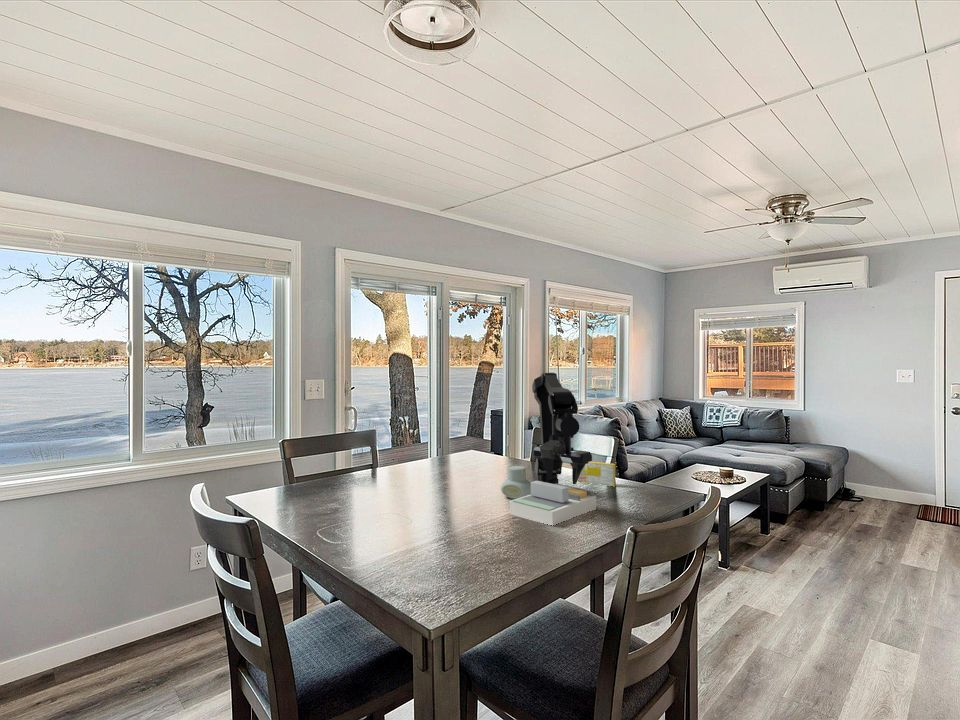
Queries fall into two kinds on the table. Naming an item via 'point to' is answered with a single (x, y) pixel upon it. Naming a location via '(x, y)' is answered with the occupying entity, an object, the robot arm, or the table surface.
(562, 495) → the grey rectangular block
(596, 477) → the candy box
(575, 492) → the yellow rectangular block
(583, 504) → the breaker box
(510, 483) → the air freshener
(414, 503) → the table surface
